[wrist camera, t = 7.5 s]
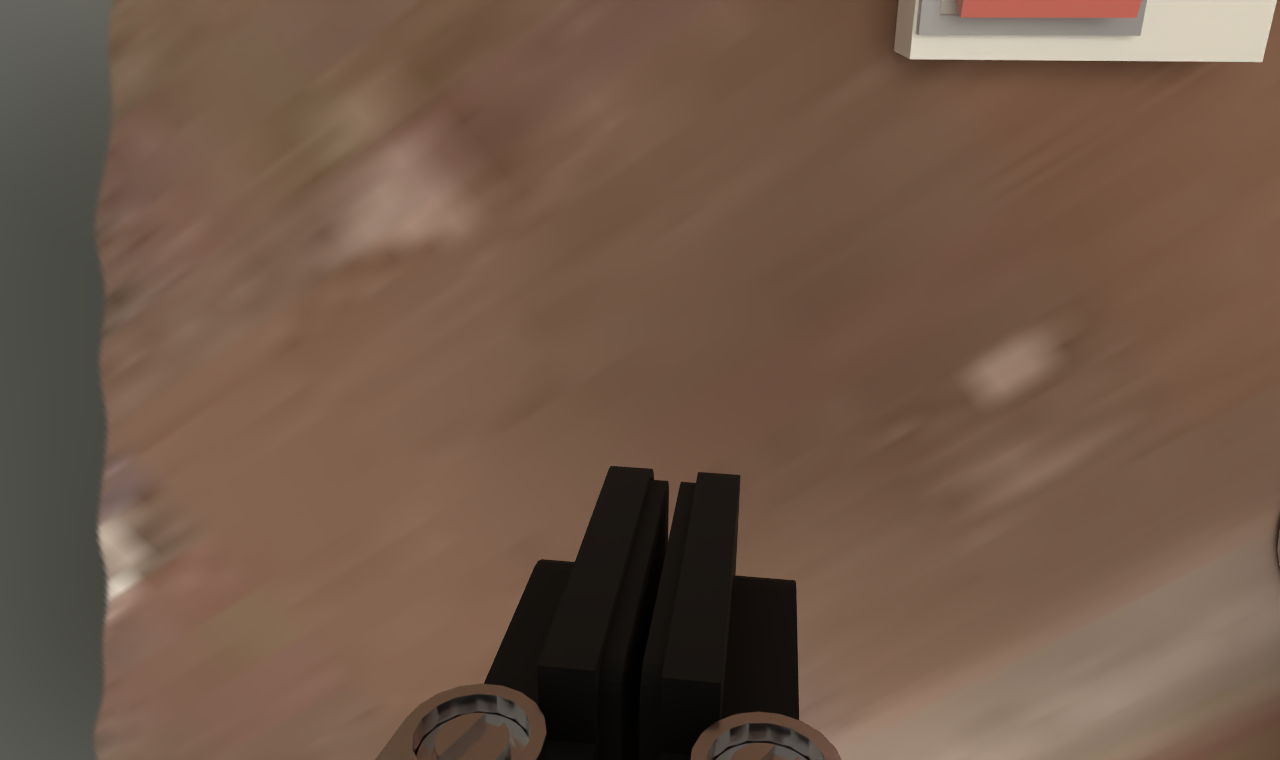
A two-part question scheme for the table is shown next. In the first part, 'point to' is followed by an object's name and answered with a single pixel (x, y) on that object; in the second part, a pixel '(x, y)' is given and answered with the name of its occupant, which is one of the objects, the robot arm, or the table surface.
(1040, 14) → the rocker
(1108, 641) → the table surface
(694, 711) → the robot arm
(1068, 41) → the power strip
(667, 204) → the table surface
